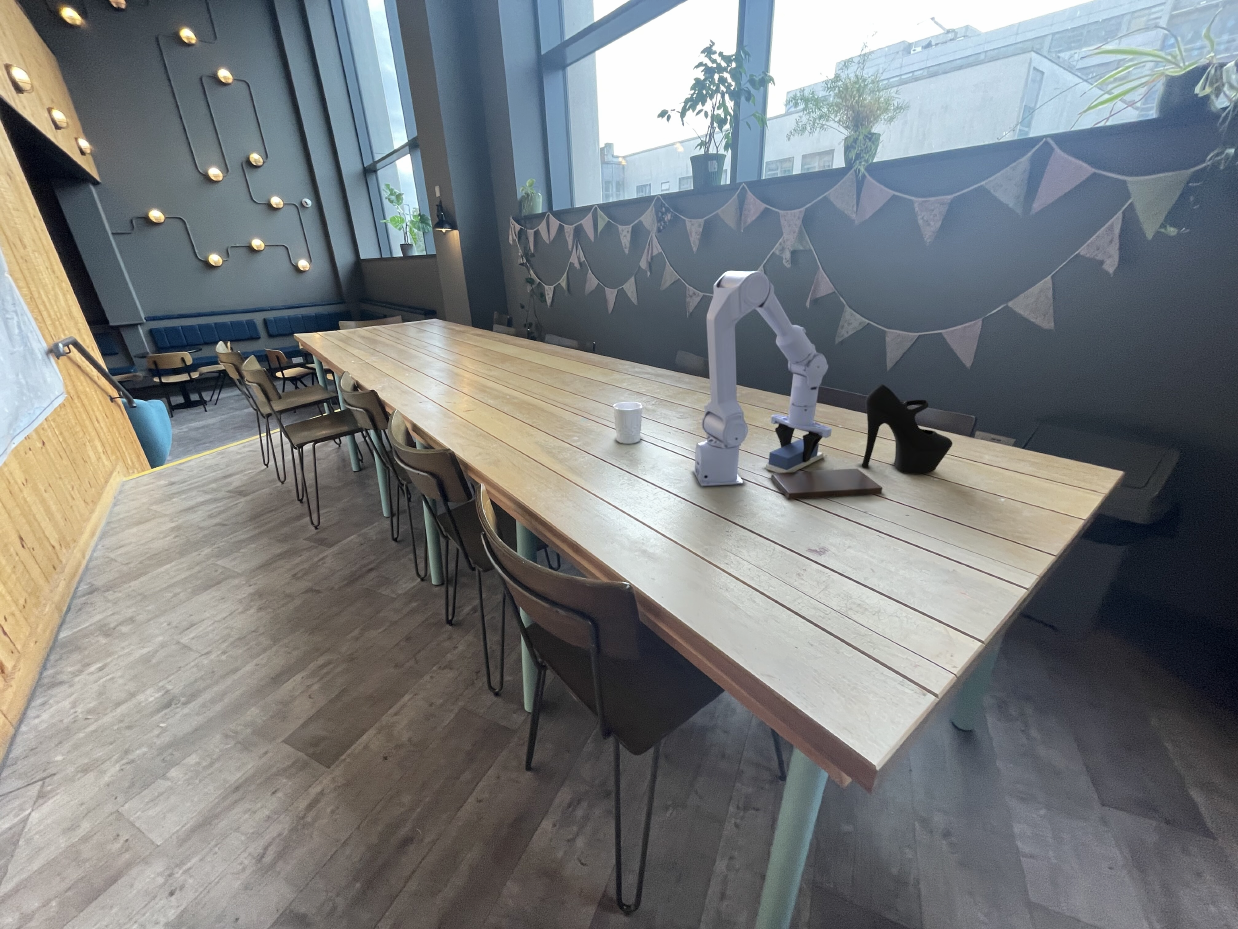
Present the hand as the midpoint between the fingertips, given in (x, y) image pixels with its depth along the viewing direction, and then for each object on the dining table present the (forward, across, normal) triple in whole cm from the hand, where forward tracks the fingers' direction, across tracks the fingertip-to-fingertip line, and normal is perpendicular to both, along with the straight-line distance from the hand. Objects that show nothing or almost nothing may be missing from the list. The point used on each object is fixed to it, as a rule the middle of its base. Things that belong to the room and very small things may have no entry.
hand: (795, 457), depth 114 cm
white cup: (+2, +40, +19) cm, 45 cm away
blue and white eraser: (+1, 0, 0) cm, 1 cm away
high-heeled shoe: (+2, -18, -15) cm, 23 cm away
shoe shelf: (+1, -11, +7) cm, 13 cm away
